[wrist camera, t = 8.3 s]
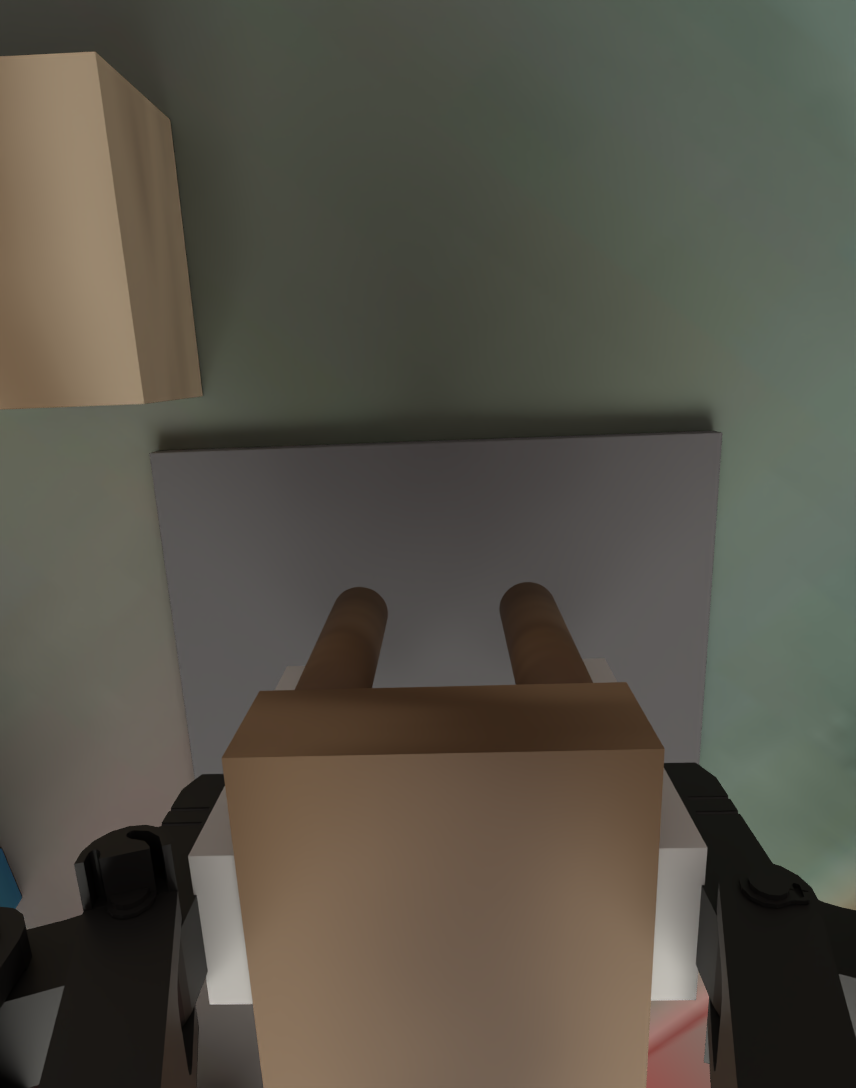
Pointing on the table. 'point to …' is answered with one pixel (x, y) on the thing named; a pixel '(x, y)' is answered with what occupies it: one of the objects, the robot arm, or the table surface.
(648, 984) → the stool
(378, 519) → the mat
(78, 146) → the oak block
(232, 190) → the table surface
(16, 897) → the cup
